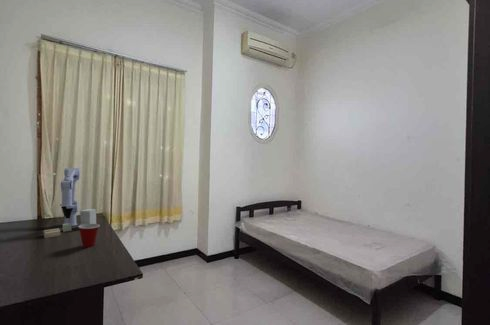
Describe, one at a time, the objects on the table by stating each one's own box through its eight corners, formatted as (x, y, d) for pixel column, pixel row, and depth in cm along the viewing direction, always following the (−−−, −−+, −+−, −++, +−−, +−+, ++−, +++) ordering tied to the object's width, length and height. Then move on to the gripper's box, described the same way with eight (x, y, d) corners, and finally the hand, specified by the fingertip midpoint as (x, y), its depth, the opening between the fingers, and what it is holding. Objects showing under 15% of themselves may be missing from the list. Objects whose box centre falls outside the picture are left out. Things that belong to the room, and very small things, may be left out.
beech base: (43, 235, 165) (43, 230, 165) (58, 232, 171) (58, 228, 171) (44, 238, 159) (44, 233, 159) (60, 235, 165) (60, 230, 165)
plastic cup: (102, 245, 148) (102, 225, 147) (80, 250, 140) (80, 228, 140) (96, 241, 155) (96, 221, 155) (76, 245, 147) (76, 225, 147)
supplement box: (96, 225, 188) (96, 209, 188) (89, 228, 181) (89, 211, 181) (87, 225, 189) (87, 208, 189) (80, 228, 182) (79, 210, 182)
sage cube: (62, 230, 176) (62, 224, 176) (70, 229, 180) (70, 222, 179) (63, 231, 173) (63, 225, 173) (71, 230, 176) (71, 224, 176)
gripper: (58, 197, 178) (58, 216, 179) (61, 199, 168) (61, 220, 168) (70, 196, 183) (70, 214, 184) (73, 198, 173) (74, 218, 173)
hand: (66, 217), depth 176 cm, fingers open, 7 cm apart
